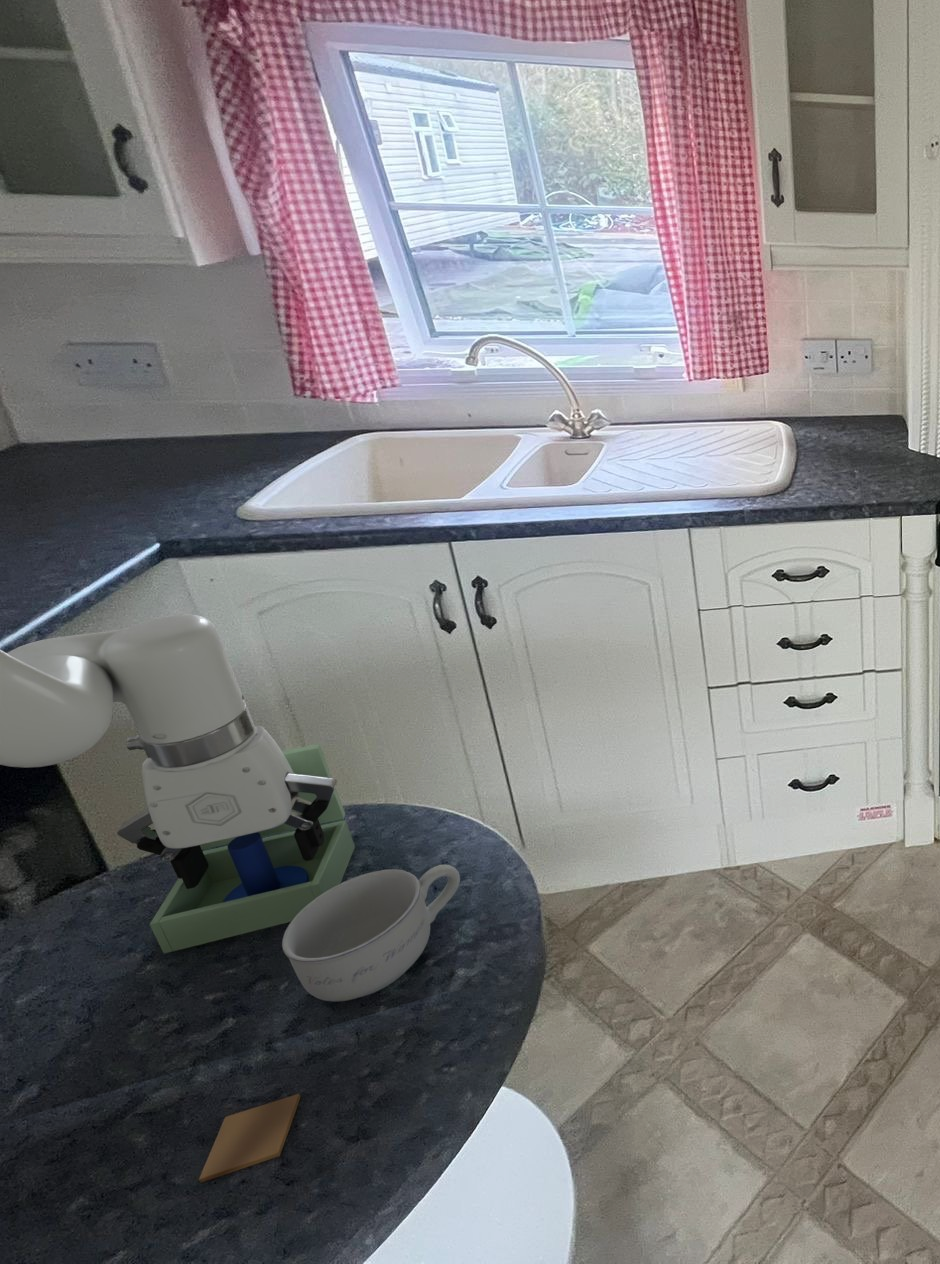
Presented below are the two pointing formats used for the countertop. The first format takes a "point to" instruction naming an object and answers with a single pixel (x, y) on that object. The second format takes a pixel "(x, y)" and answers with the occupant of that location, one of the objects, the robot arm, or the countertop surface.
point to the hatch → (303, 764)
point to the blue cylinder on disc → (259, 869)
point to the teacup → (364, 932)
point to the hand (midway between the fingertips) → (257, 864)
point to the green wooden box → (208, 919)
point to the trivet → (250, 1137)
